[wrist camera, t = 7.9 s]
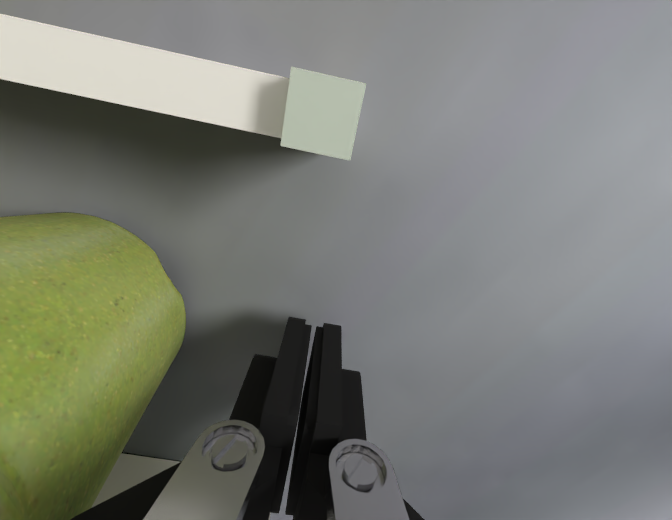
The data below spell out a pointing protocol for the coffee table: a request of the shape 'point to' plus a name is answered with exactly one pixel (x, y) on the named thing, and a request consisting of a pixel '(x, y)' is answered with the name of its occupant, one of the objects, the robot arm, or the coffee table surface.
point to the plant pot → (76, 356)
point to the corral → (181, 112)
